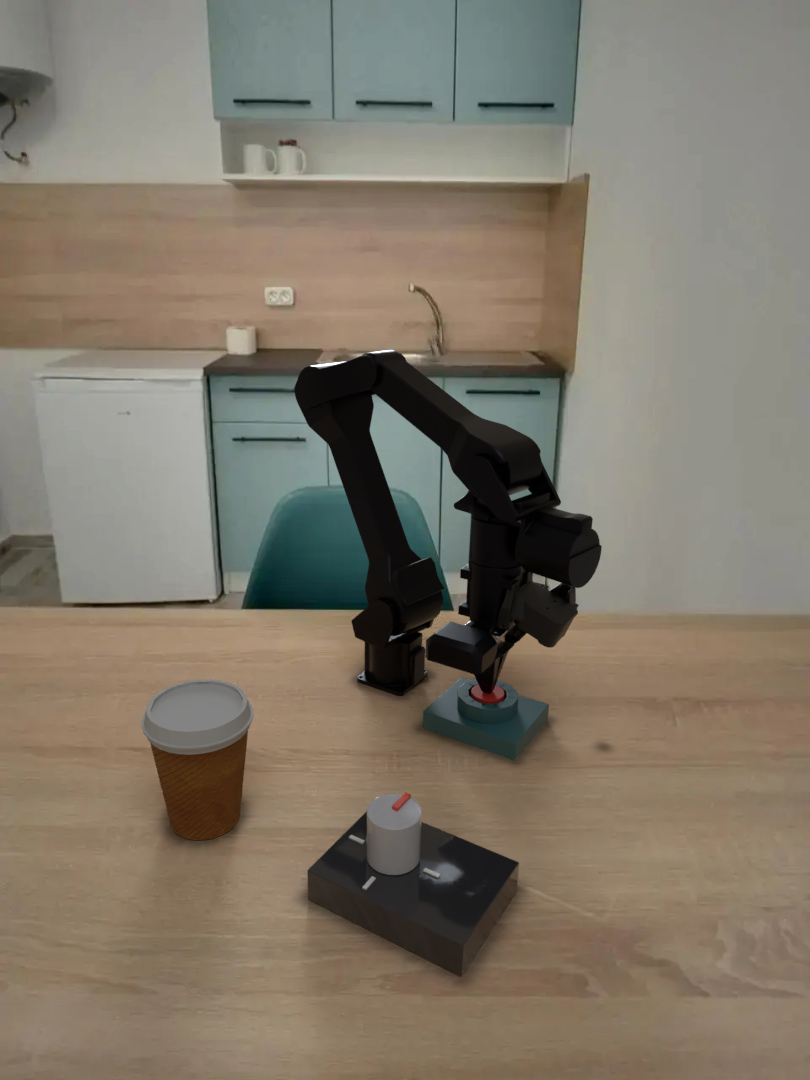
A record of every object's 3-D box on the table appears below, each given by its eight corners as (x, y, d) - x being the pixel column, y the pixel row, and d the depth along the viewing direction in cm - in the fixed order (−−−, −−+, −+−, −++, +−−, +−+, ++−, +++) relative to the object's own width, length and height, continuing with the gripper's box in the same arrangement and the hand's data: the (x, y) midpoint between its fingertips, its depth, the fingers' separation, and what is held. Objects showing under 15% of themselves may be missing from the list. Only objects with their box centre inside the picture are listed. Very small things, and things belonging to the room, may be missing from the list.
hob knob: (402, 883, 65) (404, 833, 63) (355, 862, 67) (356, 813, 65) (429, 850, 68) (431, 802, 67) (384, 830, 71) (385, 783, 69)
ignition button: (464, 708, 90) (465, 694, 90) (479, 693, 93) (480, 680, 93) (494, 718, 88) (495, 703, 88) (508, 703, 91) (509, 689, 91)
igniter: (422, 728, 91) (423, 696, 89) (460, 693, 98) (461, 663, 97) (514, 761, 85) (517, 728, 84) (547, 721, 93) (550, 689, 91)
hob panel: (307, 899, 67) (306, 868, 66) (374, 829, 75) (375, 800, 74) (461, 977, 60) (463, 944, 59) (516, 891, 68) (519, 860, 67)
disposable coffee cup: (164, 866, 70) (153, 746, 66) (142, 801, 78) (130, 690, 74) (272, 833, 74) (267, 718, 70) (240, 774, 82) (235, 668, 78)
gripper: (534, 609, 73) (521, 758, 79) (602, 547, 89) (587, 676, 94) (425, 581, 79) (420, 722, 84) (506, 527, 94) (498, 650, 99)
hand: (487, 691), depth 90 cm, fingers closed, pressing on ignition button
